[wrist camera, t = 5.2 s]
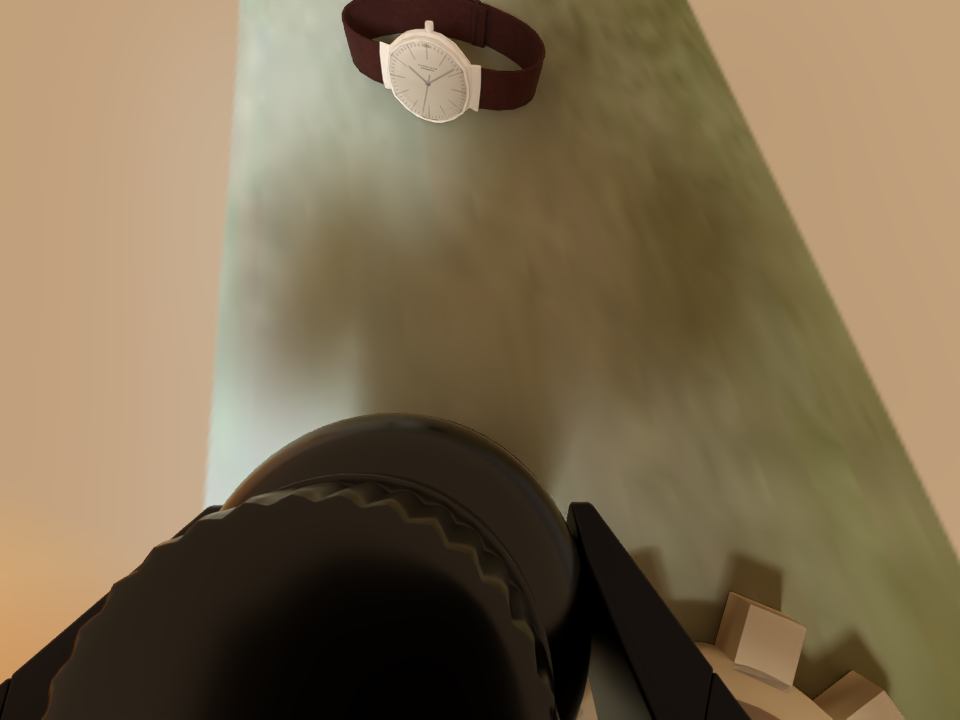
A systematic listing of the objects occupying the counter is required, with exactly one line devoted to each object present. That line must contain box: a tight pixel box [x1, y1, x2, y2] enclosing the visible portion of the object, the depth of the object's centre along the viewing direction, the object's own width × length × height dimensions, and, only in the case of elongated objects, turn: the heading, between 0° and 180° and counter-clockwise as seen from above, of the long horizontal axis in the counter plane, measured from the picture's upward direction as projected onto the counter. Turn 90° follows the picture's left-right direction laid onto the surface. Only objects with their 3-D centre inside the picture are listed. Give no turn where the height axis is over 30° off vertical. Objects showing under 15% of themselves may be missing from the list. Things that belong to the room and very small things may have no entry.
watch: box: [342, 0, 545, 123], centre depth 17 cm, size 8×5×4 cm, turn 74°
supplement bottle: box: [41, 413, 592, 720], centre depth 10 cm, size 7×7×12 cm
